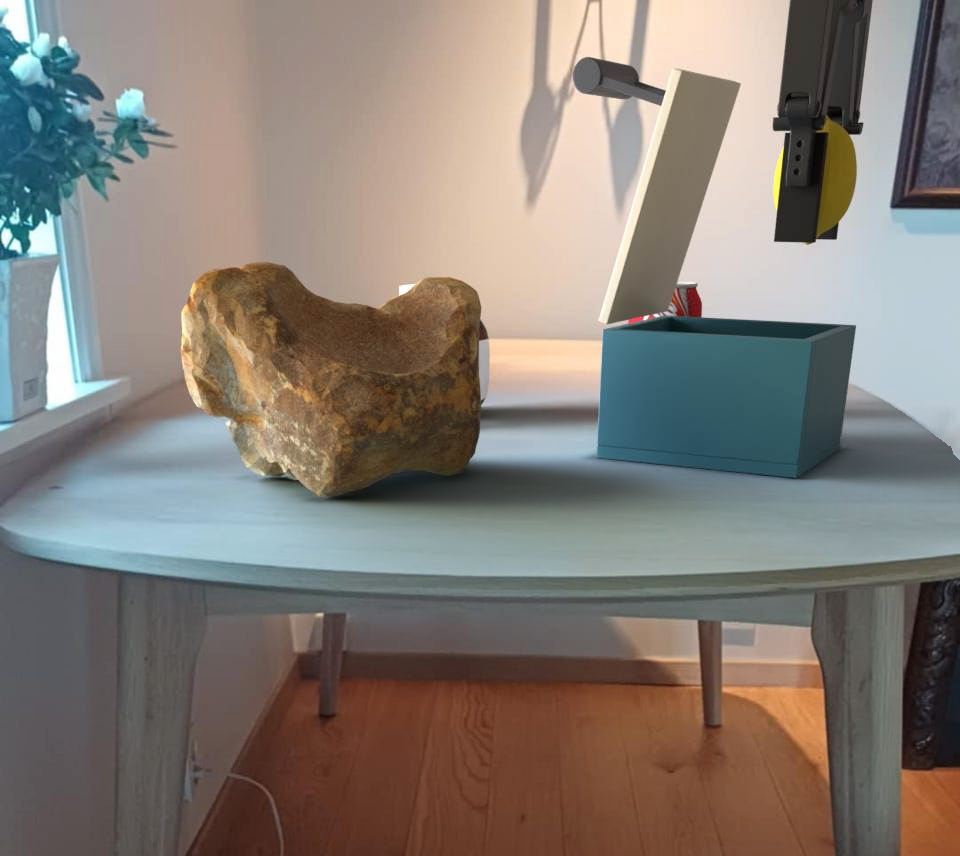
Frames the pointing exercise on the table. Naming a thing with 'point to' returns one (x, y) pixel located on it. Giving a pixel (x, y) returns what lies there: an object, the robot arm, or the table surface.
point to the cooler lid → (662, 179)
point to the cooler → (724, 393)
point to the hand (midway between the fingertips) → (806, 239)
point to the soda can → (680, 303)
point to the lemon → (832, 177)
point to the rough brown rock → (335, 376)
